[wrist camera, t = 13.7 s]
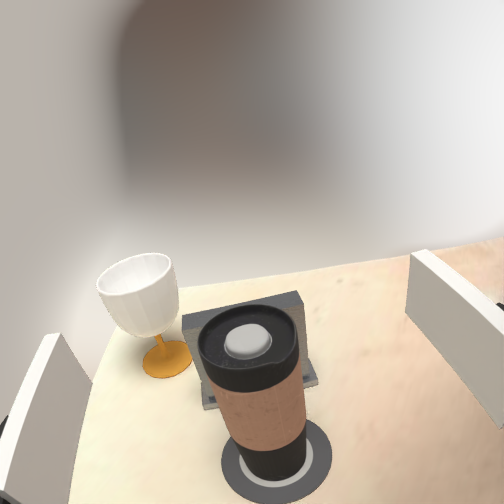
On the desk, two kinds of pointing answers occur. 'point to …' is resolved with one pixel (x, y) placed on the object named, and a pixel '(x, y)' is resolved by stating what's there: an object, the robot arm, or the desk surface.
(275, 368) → the travel mug
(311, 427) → the pad
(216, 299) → the desk surface
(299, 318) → the breaker panel
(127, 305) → the cup
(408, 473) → the desk surface
